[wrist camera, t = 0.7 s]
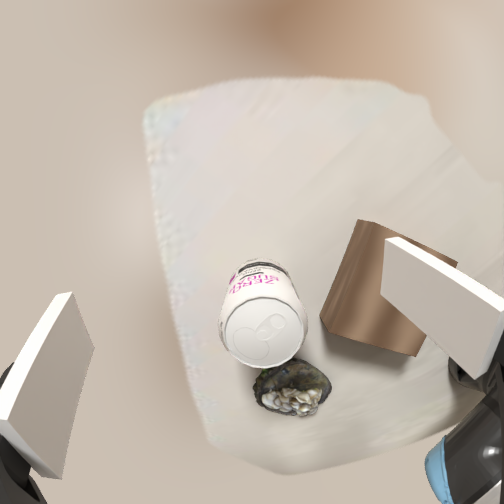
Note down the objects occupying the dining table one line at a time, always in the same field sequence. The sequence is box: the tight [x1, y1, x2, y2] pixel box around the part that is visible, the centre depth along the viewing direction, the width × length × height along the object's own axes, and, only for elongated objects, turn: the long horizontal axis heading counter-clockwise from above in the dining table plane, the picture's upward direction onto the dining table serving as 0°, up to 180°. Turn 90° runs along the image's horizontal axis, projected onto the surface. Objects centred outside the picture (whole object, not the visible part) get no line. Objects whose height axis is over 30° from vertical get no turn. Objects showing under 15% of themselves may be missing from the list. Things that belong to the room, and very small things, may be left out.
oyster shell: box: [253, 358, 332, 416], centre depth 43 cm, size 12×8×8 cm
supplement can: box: [218, 258, 308, 368], centre depth 33 cm, size 8×8×15 cm
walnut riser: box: [320, 219, 458, 357], centre depth 38 cm, size 14×14×6 cm
